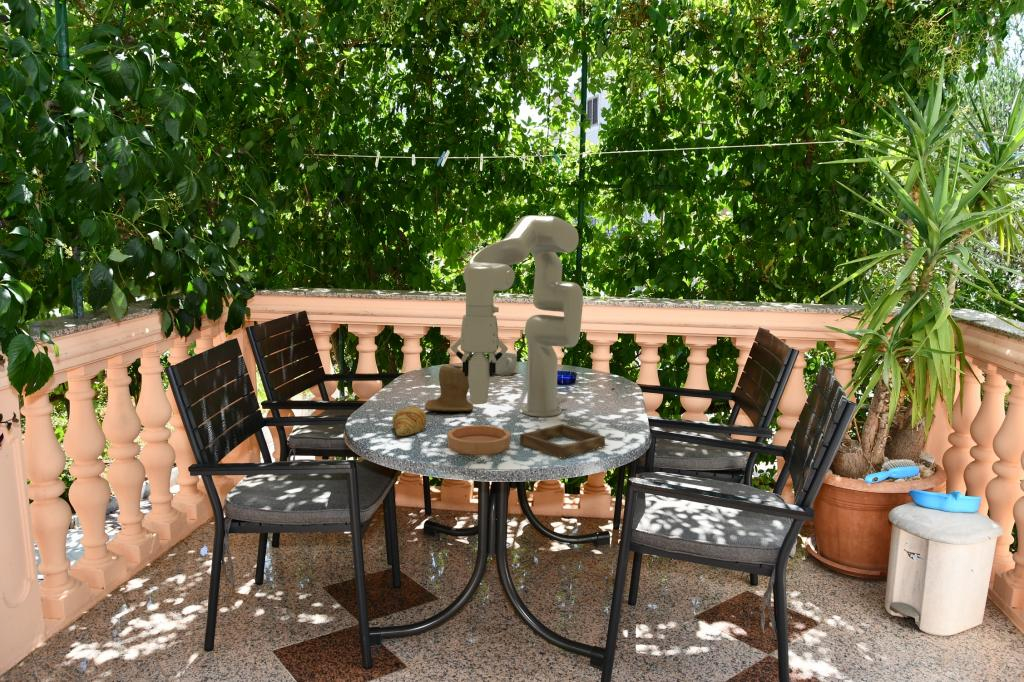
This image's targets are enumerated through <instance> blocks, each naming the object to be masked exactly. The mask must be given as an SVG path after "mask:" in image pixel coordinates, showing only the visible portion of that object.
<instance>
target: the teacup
mask: <svg viewBox="0 0 1024 682" xmlns="http://www.w3.org/2000/svg"><path fill="white" fill-rule="evenodd" d="M499 352H500V351H496V352H494V353H495V355H496V354H497V353H499ZM488 355H489V354H488ZM517 359H518V354H516V353H513V352H508V351H506V352H505V353H504V354H503V355H502V356H501V357H500V358H499V359H498V360H497V361H496V373H493V375H499V376H509V375H512V374H513V373H514V372H515V370H516V368H517V361H518V360H517ZM488 360H489V361H490V362H491V358H490V355H489V358H488Z"/></svg>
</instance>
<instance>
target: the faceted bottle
mask: <svg viewBox="0 0 1024 682" xmlns="http://www.w3.org/2000/svg"><path fill="white" fill-rule="evenodd" d="M490 381H491V376H490V361H489V358H488V357H487V355H486V353H473V354H472V355H471V357H470V358H469V359H468V382H469V390H468V392H469V398H470V400H469V401H470V403H471V404H472V405H473V404H475V405H484V404H487V403H488V399H489V391H490Z"/></svg>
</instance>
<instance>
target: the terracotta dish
mask: <svg viewBox="0 0 1024 682" xmlns="http://www.w3.org/2000/svg"><path fill="white" fill-rule="evenodd" d="M511 435H512V434H511V433H510V432H509V430H508V429H505V428H503V427H500V426H495V425H485V424H478V425H475V424H474V425H463V426H460V427H455V428H452V429H451V430H449V431H447V433H446V440H447V441H446V443H447V447H449V448H450V449H451V451H452V450H453V451H452V452H454V451H455V453H457V452H458V453H457V454H463V455H469V456H488V455H489V456H490V455H496V454H499V453H500V454H501V453H503V452H505V451H508V450H509V448H510V445H511V443H512V442H511V440H512V439H511V437H512V436H511ZM449 448H448V449H449ZM450 449H449V450H450Z"/></svg>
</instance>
